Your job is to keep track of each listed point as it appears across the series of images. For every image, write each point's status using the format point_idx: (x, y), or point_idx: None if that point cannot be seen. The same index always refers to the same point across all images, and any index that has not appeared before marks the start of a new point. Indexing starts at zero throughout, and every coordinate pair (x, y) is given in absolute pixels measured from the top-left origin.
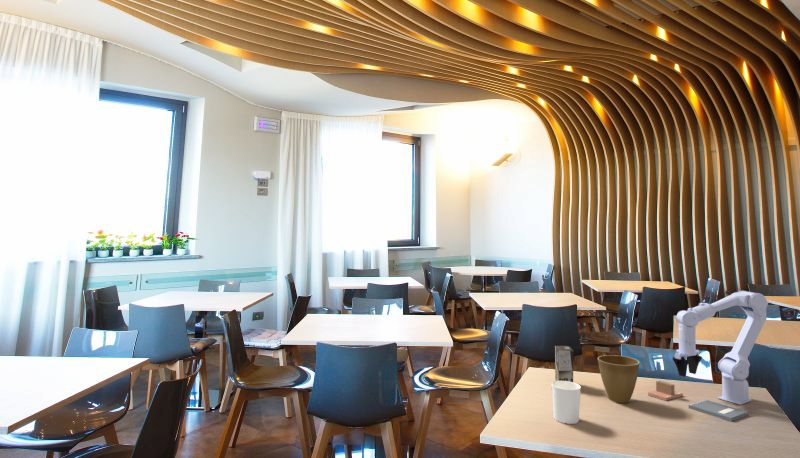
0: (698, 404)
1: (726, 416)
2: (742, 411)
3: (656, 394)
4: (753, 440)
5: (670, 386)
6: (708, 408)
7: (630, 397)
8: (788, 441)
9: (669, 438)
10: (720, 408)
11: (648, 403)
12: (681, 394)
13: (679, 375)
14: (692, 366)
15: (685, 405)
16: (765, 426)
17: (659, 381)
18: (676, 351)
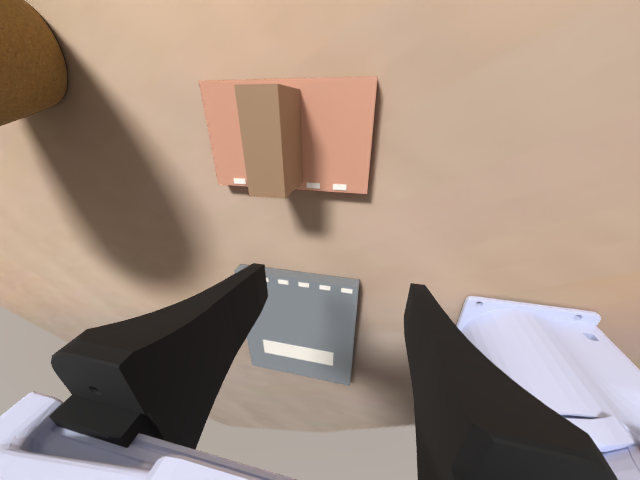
0: (272, 289)
1: (251, 357)
2: (339, 377)
3: (217, 129)
4: None
5: (252, 190)
6: (266, 317)
7: (28, 115)
8: (260, 424)
9: (46, 301)
10: (304, 338)
11: (133, 156)
12: (356, 191)
13: (252, 265)
14: (418, 353)
15: (255, 247)
16: (303, 402)
17: (253, 101)
18: (157, 465)
